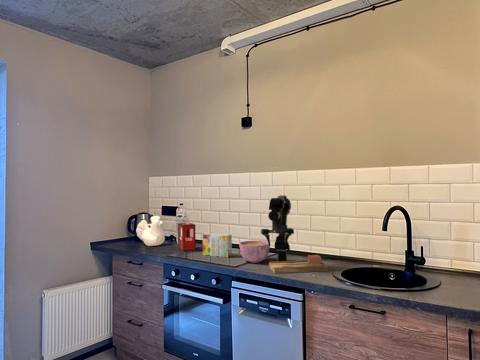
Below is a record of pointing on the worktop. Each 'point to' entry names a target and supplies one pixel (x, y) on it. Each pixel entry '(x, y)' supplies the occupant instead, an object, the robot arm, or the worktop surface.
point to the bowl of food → (254, 250)
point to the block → (314, 259)
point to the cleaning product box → (186, 237)
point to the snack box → (217, 245)
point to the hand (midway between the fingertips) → (277, 246)
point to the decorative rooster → (151, 231)
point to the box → (296, 266)
